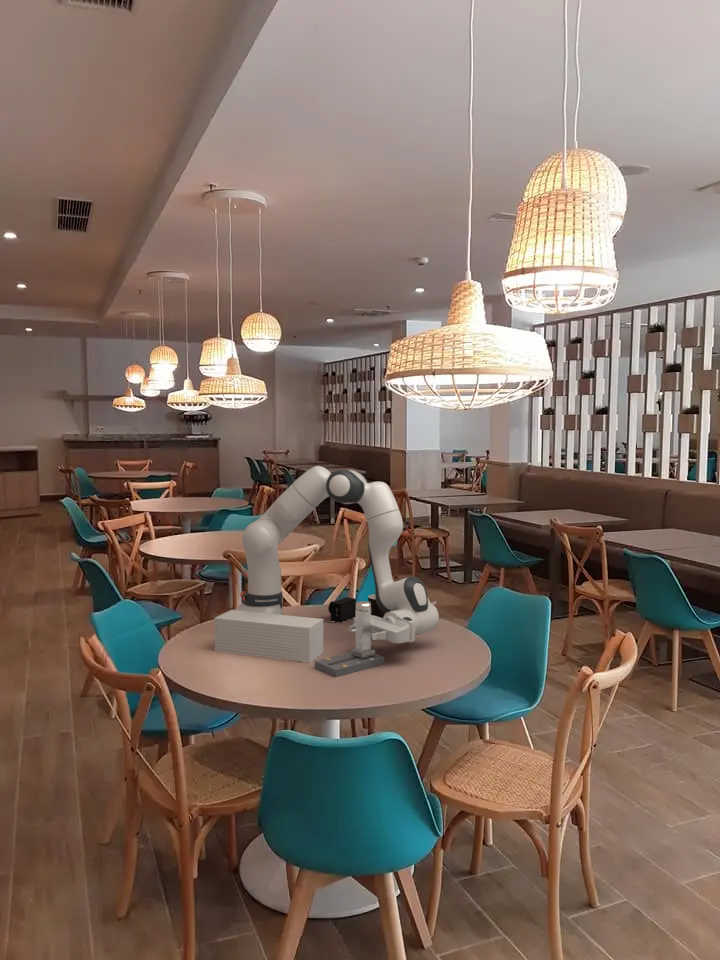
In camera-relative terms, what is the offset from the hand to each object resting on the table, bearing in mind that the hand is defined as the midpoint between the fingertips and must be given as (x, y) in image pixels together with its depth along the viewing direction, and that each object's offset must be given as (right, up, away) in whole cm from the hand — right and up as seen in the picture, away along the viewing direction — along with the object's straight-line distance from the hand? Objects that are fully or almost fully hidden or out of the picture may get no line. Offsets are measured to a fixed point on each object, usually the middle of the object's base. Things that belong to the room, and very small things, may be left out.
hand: (360, 633), depth 219 cm
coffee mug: (+7, -6, +41) cm, 42 cm away
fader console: (-3, -9, -2) cm, 10 cm away
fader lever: (+1, -7, +1) cm, 7 cm away
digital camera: (-7, -5, +50) cm, 50 cm away
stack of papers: (-29, -8, +11) cm, 32 cm away
